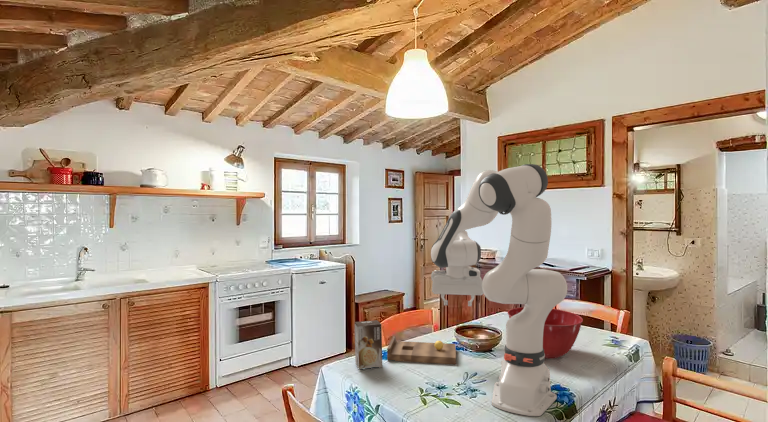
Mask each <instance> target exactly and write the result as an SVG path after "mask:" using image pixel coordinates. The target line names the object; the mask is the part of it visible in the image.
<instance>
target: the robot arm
mask: <svg viewBox="0 0 768 422" xmlns="http://www.w3.org/2000/svg"><path fill="white" fill-rule="evenodd" d="M548 178H549V177H548V174H547V172H546V171H545V170H544V168H543V167H541V166H540V165H538V164H535V163H533V164H532V163H525V164H522V165H520V166H514V167H508V168H505V169H501V170H499V171H496V170H493V169H492V170H491V169H488V170H487V169H486V170H484V171H481V172H480V173H479V174H478V175H477V176H476V178H475V179H474V181H473V183H472V186H471V188H470V190H469V193H468V196H467V197H466V199H465V200H464V202H463V203H462V205H460V206H459V207H457V209H455V210H454V211H453V212H452V213H451V214H450V216H449V217H448V219H447V221H446V223H445V225H444V227H443V228H442V230H441V231H440V234H439V236H438V238H437V239H436V240H435V242H434V243H433V245H432V246H431V249H430V258H431V259H430V260H431V261H432V263H433V264H434V265H435V266H436V267H438V268H440V269H443V268H445V270H444V269H443V270H434V271H432V272H431V273H430V279H431V282H432V285H431V292H432V294H434V295H440V298H441V299H442V301H443V306H448V299H446V298H445V296H446V295H453V296H454V295H456V296H457V295H459V296H464V295H465V296H470V298H471V299H470V300H467V307H473V301H474V300H475V298H476V296H483V295H484V297H485V298H486V299H487V300H488V301H489V302H494V303H497V304H503V305H524V306H523V307H524V309H523V310H522V311H521V312H520V313H518V314H516V315H514V316H512V317H511V318H510V319H509V318H508V320H507V321H506V322H505V323H506V324H505V345H504V349H503V359H502V360H501V362H500V363H501V364H500V365H501V367H500V368H501V371H500V375H498V377H497V380H498V381H496V382H494V384H493V392H492V398H491V405H492V406H493V407H495V408H496V409H498V410H499V409H500V410H502V411H505V412H509V413H512V414H516V415H522V416H529V417H541V416H542V415H543V414H544V413H545V412H546V411H547V409H549V408H550V407H551V405H553V404H554V402H555V401H556V400H557V398H558V396H557V394H556V393H555V392H553V391H551V390H552V389H551V371H550V369H549V367H548V366H547V365H546V364H545V361H546V358H545V353H544V349H543V331H544V324H545V321H546V318H547V316H548V314H549V313H550V311H551V310H552V309H555V307H556V306H557V305H559V304H560V303H562V301H564V300H565V299H566V297H567V293H568V282H567V281H566V278H565V276H564V275H563V274H562V273H561V272H559V271H554V270H550V269H545V268H543V269H542V268H540V269H539V267H540V266H541V265H542V264H544V263H545V261H546V260H547V258H548V257H549V256H548V255H549V248H550V241H551V235H552V209H551V205H550V204H549V203H548V202H547V201H546V200H544V199H543V198H539V197H540V196H541V195H542V194H543V193H544V192H545V191H546V190H547V188H548V184H549V179H548ZM498 214H500V215H504V216H505V215H508V214H510V216H511V219H512V220H511V229H510V236H509V237H510V238H509V243H508V249H507V253H506V255H505V256H504V258H503V260H502V261H501V262H499V264H498V265H497V266H495V267H493V268H492V269H491V270H490V269H489V271H487V272H486V273H485V275H484V276H483V278H482V276H481V270H480V269H479V268H476V267H473V266H476V265H477V264H479V262H480V261H481V258H482V248H481V245H480V244H479V243H478V242H477V241H475V240H473V239H472V238H470V237H469V234H468V230H471V229H474V228H477V227H482V226H486V225H488V224H490V223H491V222H493V221H494V220H495V218H497V216H498Z"/></svg>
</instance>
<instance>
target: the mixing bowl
mask: <svg viewBox="0 0 768 422" xmlns="http://www.w3.org/2000/svg"><path fill="white" fill-rule="evenodd" d="M524 307H525V306H522V307H513V308H511V309H509V310H508V311H507V315H508V320H509V319H510V318H511V317H512V316H514V315H516V314H518V313H520V312H521V311H522V310H523V309H524ZM583 322H584V319H583V318H582V316H580V315H578V314H576V313H573V312H570V311H566V310H562V309H558V308H557V309H556V308H553V309H552V310H551V311H550V313H549V314H548V316H547V318H546V321H545V324H544V331H543V349H544V353H545V359H550V360H551V359H559V358H561V357H563V356H566V354H568V353H569V352H570V351H571V349H572V348H573V346H574V344H575V343H576V340H577V339H578V338H577V337H578V335H579V333H580V331H581V327H582V324H583Z"/></svg>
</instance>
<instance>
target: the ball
mask: <svg viewBox="0 0 768 422" xmlns="http://www.w3.org/2000/svg"><path fill="white" fill-rule="evenodd" d="M434 343H435V348H436V349H437V350H441V349H442V348H443V341H441V340H436V341H435V342H434Z"/></svg>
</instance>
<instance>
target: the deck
mask: <svg viewBox="0 0 768 422" xmlns="http://www.w3.org/2000/svg"><path fill="white" fill-rule="evenodd" d="M442 343H443V342H442ZM456 345H457V344H456V343H443V348H442V349H441V350H437V349H436V348H435V342H427V341H426V342H423V341H407V340H406V341H402V340H397V338H396V336H395V335H393V336H392V338H391V340H390V342H389V344H388V347H387V349H386V351H387V353H386V357H387V359H386V360H395V361H394V362H408V363H423V364H424V363H427V364H439V365H440V364H443V365H444V364H445V365H456V363H457V361H456V359H457V354H456V353H457V352H456V351H457V350H456V347H457V346H456Z"/></svg>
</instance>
